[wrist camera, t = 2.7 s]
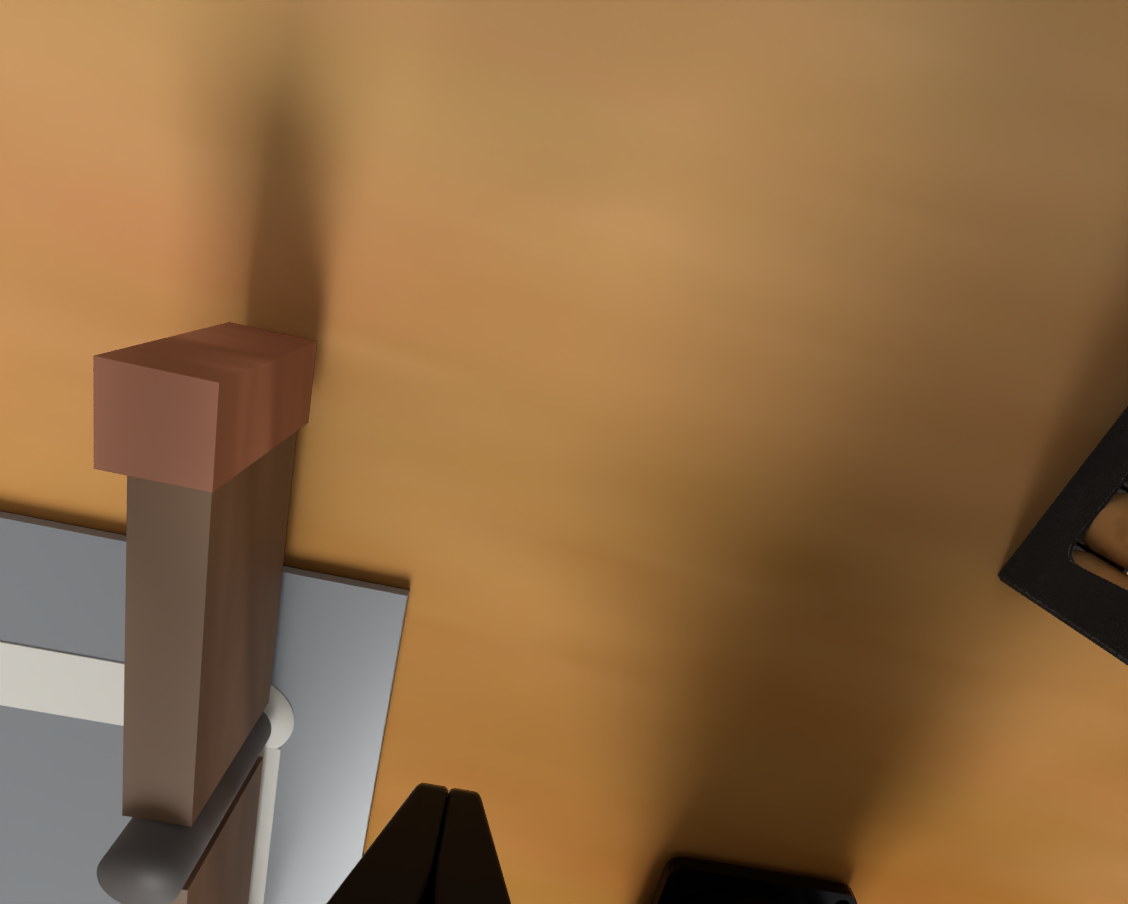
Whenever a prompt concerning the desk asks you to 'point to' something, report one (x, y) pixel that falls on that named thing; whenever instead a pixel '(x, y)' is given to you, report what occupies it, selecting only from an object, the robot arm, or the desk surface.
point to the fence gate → (199, 545)
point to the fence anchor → (194, 843)
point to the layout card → (96, 719)
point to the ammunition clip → (1083, 549)
